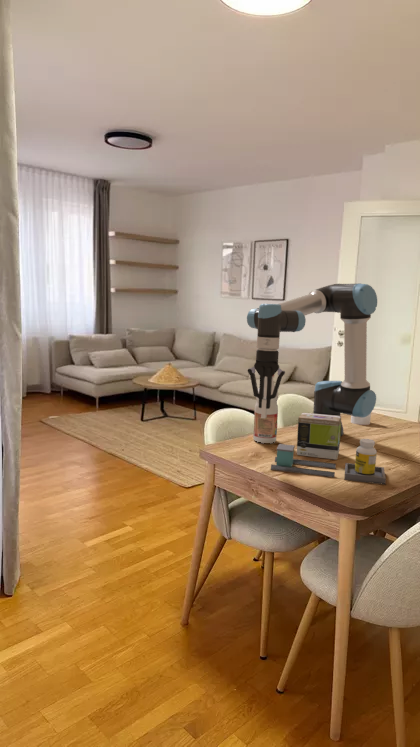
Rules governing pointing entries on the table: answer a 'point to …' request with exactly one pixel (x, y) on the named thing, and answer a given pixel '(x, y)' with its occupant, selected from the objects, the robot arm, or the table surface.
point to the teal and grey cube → (285, 455)
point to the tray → (351, 475)
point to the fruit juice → (266, 419)
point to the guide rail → (304, 470)
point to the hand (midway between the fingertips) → (263, 417)
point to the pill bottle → (365, 458)
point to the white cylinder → (361, 420)
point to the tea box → (318, 435)
